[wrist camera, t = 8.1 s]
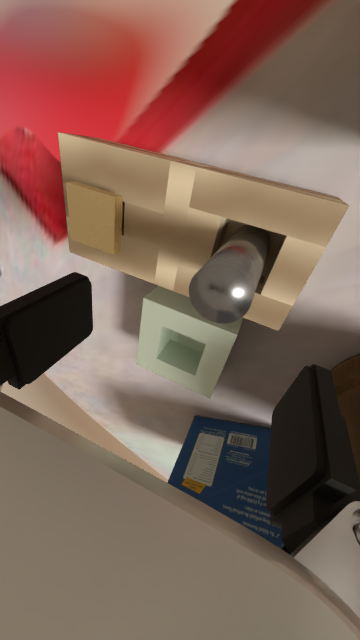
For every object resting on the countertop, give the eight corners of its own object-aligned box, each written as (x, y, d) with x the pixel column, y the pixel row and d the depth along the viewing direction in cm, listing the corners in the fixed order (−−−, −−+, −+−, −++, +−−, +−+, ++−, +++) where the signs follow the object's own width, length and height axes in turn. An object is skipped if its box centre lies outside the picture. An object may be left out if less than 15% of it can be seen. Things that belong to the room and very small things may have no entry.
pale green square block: (164, 279, 28) (143, 297, 24) (246, 310, 26) (237, 335, 22) (154, 341, 34) (136, 364, 30) (220, 370, 32) (209, 398, 28)
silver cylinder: (237, 218, 21) (196, 255, 12) (277, 230, 20) (262, 277, 12) (225, 256, 23) (183, 310, 14) (261, 268, 22) (239, 332, 14)
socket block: (98, 137, 23) (57, 132, 19) (338, 197, 18) (349, 205, 14) (100, 240, 29) (69, 251, 25) (281, 304, 24) (278, 331, 20)
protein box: (299, 476, 37) (301, 626, 25) (206, 453, 44) (171, 562, 32) (297, 431, 32) (298, 589, 20) (193, 414, 39) (147, 523, 27)
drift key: (109, 179, 22) (65, 182, 18) (150, 191, 21) (114, 197, 17) (109, 227, 25) (71, 239, 21) (146, 239, 24) (113, 254, 20)
